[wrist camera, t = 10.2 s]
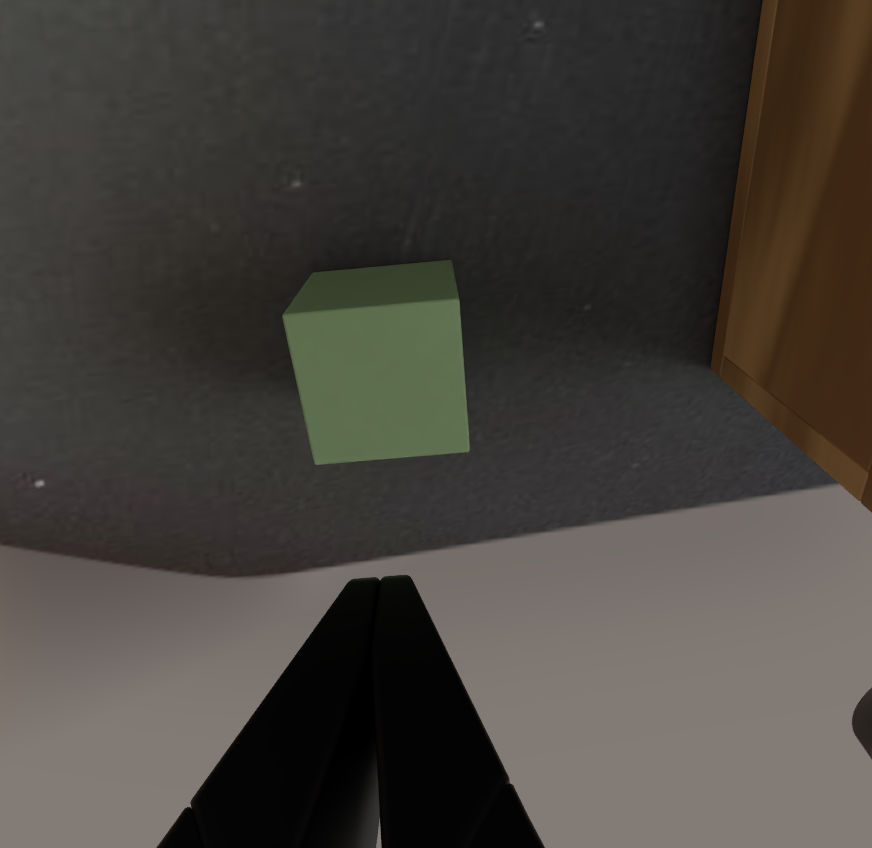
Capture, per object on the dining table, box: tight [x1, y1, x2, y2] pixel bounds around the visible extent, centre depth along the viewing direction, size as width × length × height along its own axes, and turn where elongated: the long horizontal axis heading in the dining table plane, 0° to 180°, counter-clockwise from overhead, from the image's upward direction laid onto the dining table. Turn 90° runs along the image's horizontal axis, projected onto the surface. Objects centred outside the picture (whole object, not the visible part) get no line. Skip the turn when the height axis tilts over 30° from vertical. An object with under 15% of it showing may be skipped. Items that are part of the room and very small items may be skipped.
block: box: [282, 260, 470, 465], centre depth 17 cm, size 4×4×4 cm
